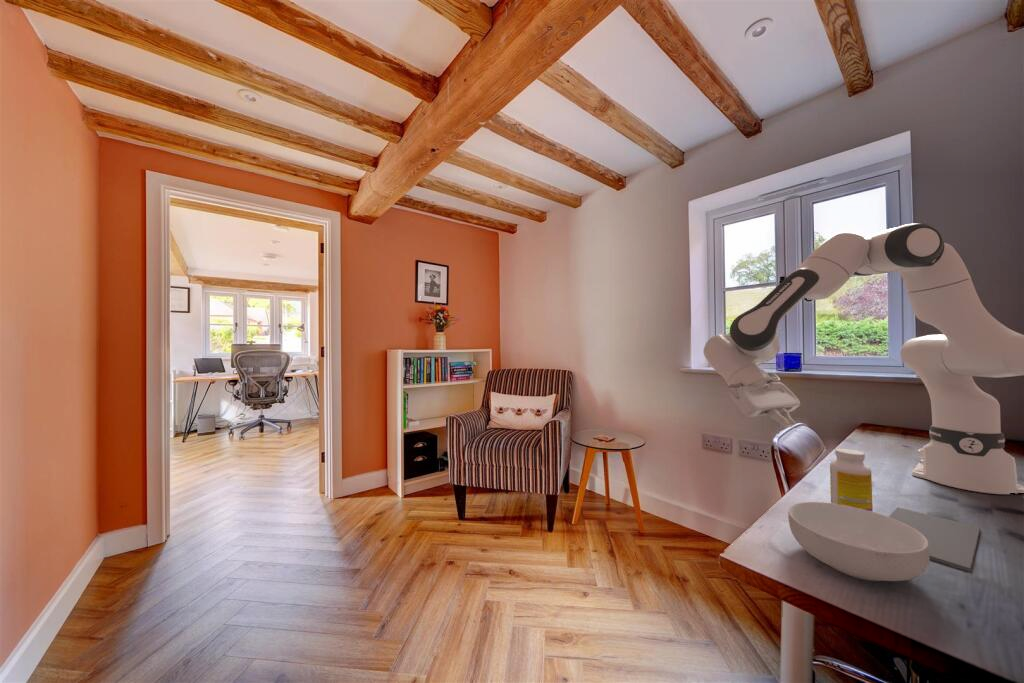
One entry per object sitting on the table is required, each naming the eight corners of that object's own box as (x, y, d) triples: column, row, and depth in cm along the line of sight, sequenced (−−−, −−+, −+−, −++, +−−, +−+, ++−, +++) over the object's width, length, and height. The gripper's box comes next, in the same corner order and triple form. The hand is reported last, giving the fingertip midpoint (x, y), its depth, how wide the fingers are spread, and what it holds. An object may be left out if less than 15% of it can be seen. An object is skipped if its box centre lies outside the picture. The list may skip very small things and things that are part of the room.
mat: (897, 509, 78) (897, 507, 78) (979, 530, 69) (979, 527, 69) (873, 541, 66) (873, 538, 66) (970, 571, 57) (970, 568, 57)
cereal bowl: (790, 529, 71) (789, 493, 71) (916, 560, 60) (914, 518, 60) (786, 571, 57) (786, 526, 58) (946, 621, 47) (945, 566, 47)
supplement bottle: (881, 518, 75) (879, 456, 75) (844, 516, 76) (843, 455, 76) (857, 504, 81) (856, 447, 81) (823, 502, 82) (822, 446, 83)
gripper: (733, 377, 92) (775, 422, 83) (780, 374, 100) (822, 415, 91) (716, 392, 96) (755, 437, 87) (763, 388, 104) (802, 429, 95)
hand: (790, 426), depth 89 cm, fingers closed
